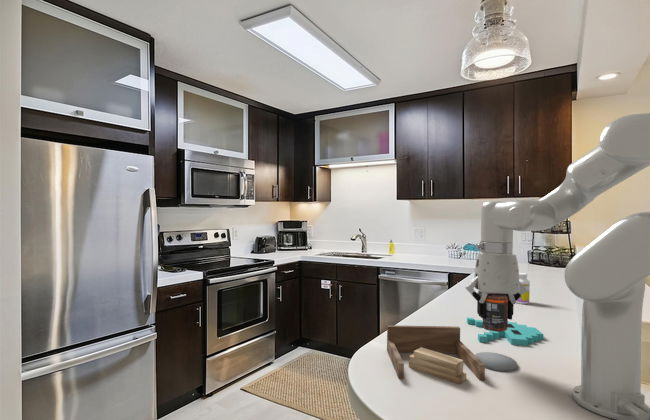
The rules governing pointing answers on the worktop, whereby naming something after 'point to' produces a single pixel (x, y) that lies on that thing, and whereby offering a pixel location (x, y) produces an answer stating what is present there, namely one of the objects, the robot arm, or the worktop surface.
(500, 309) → the supplement bottle
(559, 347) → the worktop surface
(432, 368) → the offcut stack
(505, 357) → the slate pad
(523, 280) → the supplement bottle
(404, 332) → the walnut rack
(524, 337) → the alien figure
